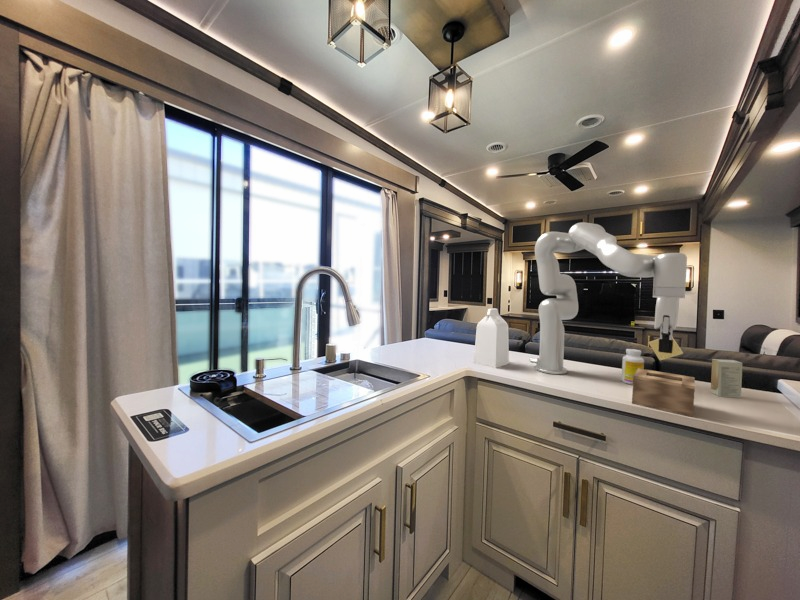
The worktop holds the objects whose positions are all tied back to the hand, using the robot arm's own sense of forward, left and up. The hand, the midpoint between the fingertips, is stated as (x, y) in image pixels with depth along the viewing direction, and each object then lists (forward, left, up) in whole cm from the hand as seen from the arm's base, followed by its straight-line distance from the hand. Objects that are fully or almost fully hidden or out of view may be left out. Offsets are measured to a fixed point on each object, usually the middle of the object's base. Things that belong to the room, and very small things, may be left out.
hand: (665, 351), depth 95 cm
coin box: (0, 0, -17) cm, 17 cm away
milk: (-62, +7, -17) cm, 65 cm away
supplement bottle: (-10, +20, -17) cm, 28 cm away
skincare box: (+15, +27, -17) cm, 35 cm away
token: (-3, 0, 0) cm, 3 cm away
